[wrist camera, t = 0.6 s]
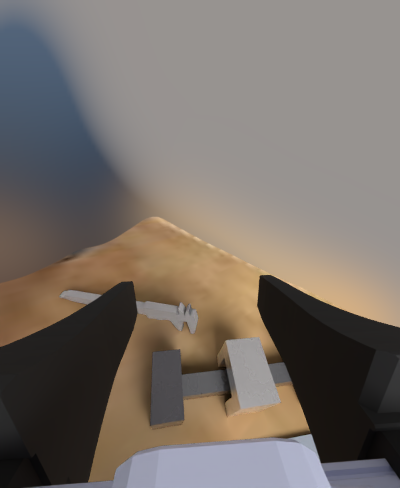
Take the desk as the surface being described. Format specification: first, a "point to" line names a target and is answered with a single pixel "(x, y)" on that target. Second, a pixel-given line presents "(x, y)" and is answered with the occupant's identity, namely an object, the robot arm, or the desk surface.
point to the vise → (189, 386)
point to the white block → (247, 377)
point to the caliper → (147, 309)
